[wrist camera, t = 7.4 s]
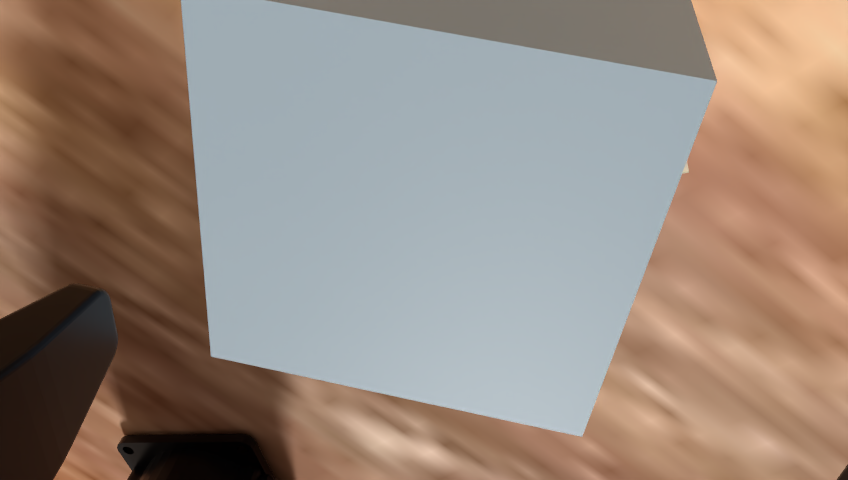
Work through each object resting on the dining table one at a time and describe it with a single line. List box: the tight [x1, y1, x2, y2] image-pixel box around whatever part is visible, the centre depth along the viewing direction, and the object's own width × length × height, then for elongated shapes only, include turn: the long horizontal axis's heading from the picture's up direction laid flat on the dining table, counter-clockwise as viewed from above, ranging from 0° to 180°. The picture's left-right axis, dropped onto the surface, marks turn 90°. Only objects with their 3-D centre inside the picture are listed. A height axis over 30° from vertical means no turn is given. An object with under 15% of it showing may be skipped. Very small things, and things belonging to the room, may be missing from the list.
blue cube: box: [181, 0, 717, 437], centre depth 12 cm, size 6×6×6 cm
